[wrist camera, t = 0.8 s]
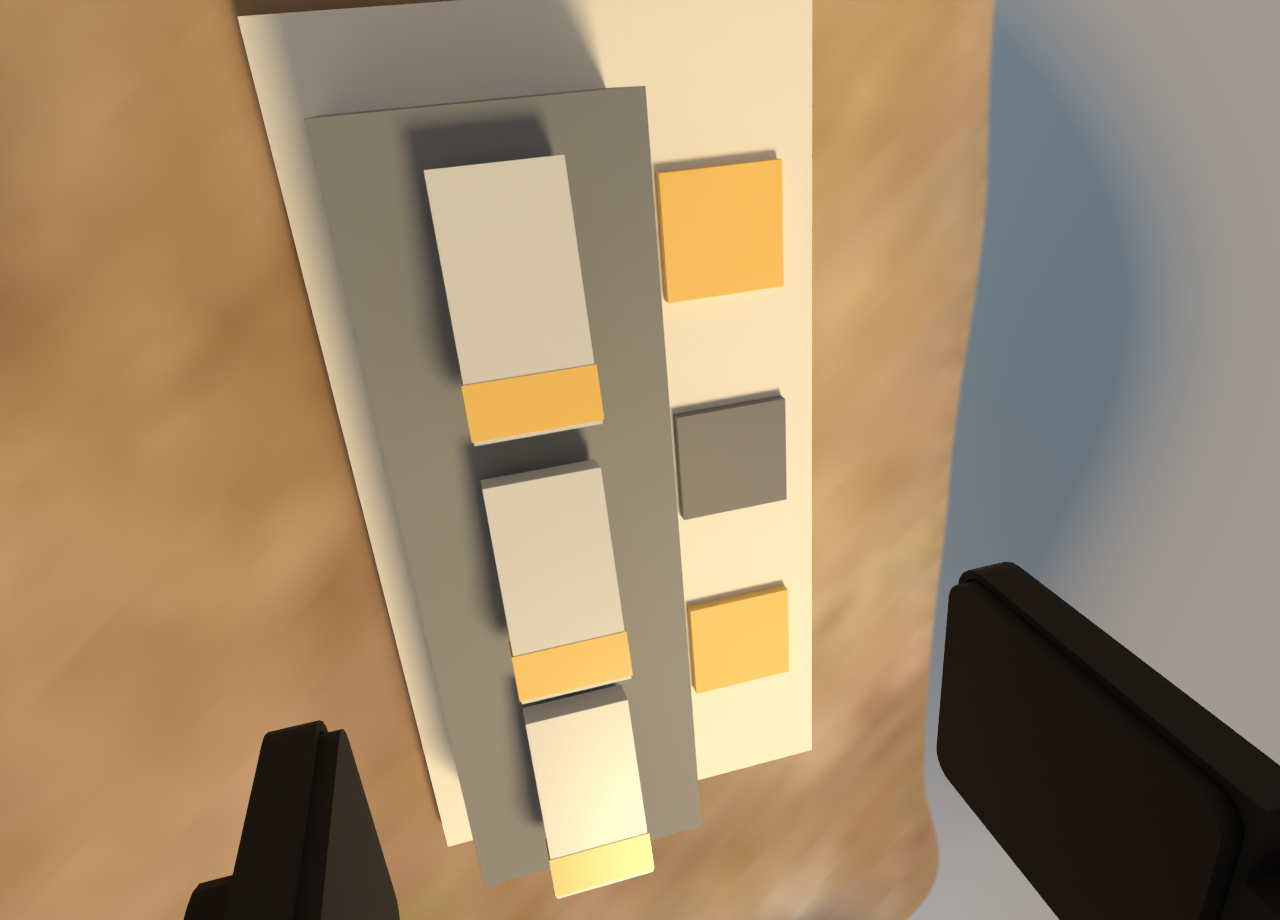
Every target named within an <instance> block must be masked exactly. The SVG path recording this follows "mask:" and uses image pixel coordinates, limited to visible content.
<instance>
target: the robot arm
mask: <svg viewBox="0 0 1280 920" xmlns="http://www.w3.org/2000/svg"><path fill="white" fill-rule="evenodd" d="M942 676H943V677H942V688H941V700H940V712H939V725H938V736H937V755H938V760H939V763H940V766H941V768H942V770H943V772H944V774H945V776H946V777H947V779H948V780H949V781H950V783H951V784H952V785H953V786H954V787H955V789H956V790H957V791H958V793H959V794H960V795H961V796H962V798H963V799H964V800H965V802H966V803H967V804H968V805H969V806H970V808H971V809H972V810H973V812H974V813H975V814H976V815H977V817H978V818H979V819H980V820H981V822H982V823H983V824H984V825H985V827H986V828H987V829H988V830H989V832H990V833H991V834H992V835H993V837H994V838H995V839H996V840H997V842H998V843H999V844H1000V845H1001V847H1002V848H1003V849H1004V851H1005V852H1006V853H1007V854H1008V856H1010V858H1011V859H1012V860H1013V862H1014V863H1015V864H1016V866H1017V867H1018V868H1019V869H1020V870H1021V872H1022V873H1023V874H1024V876H1025V877H1026V878H1027V879H1028V881H1029V882H1030V883H1031V884H1032V885H1033V887H1034V888H1035V889H1036V891H1037V892H1038V893H1039V894H1040V896H1041V897H1042V898H1043V899H1044V901H1045V902H1046V903H1047V905H1048V906H1049V907H1050V908H1051V910H1052V911H1053V912H1054V913H1055V915H1056V916H1057V917H1058V918H1059V920H1280V766H1279V765H1278V764H1277V763H1276V762H1274V761H1273V760H1272V759H1270V758H1269V757H1268V756H1267V755H1265V754H1264V753H1263V752H1261V751H1260V750H1259V749H1257V748H1256V747H1255V746H1253V745H1252V744H1251V743H1250V742H1248V741H1247V740H1245V739H1244V738H1243V737H1242V736H1240V735H1239V734H1238V733H1236V732H1235V731H1234V730H1233V729H1231V728H1230V727H1229V726H1227V725H1226V724H1225V723H1223V722H1222V721H1221V720H1219V719H1218V718H1217V717H1215V716H1214V715H1213V714H1212V713H1210V712H1209V711H1208V710H1206V709H1205V708H1204V707H1202V706H1201V705H1200V704H1198V703H1197V702H1196V701H1195V700H1193V699H1192V698H1191V697H1189V696H1188V695H1187V694H1185V693H1184V692H1183V691H1181V690H1180V689H1179V688H1178V687H1176V686H1175V685H1174V684H1172V683H1171V682H1170V681H1168V680H1167V679H1166V678H1164V677H1163V676H1162V675H1161V674H1159V673H1158V672H1156V671H1155V670H1154V669H1152V668H1151V667H1150V666H1149V665H1147V664H1146V663H1145V662H1143V661H1142V660H1141V659H1140V658H1138V657H1137V656H1136V655H1134V654H1133V653H1132V652H1130V651H1129V650H1128V649H1127V648H1125V647H1124V646H1123V645H1121V644H1120V643H1118V642H1117V641H1116V640H1115V639H1113V638H1112V637H1111V636H1109V635H1108V634H1107V633H1106V632H1104V631H1103V630H1102V629H1100V628H1099V627H1098V626H1096V625H1095V624H1094V623H1092V622H1091V621H1090V620H1089V619H1087V618H1086V617H1085V616H1083V615H1082V614H1081V613H1079V612H1078V611H1076V610H1075V609H1074V608H1073V607H1072V606H1070V605H1069V604H1068V603H1066V602H1065V601H1064V600H1062V599H1061V598H1060V597H1058V596H1057V595H1056V594H1055V593H1053V592H1052V591H1051V590H1049V589H1048V588H1046V587H1045V586H1044V585H1043V584H1041V583H1040V582H1039V581H1038V580H1036V579H1034V577H1032V576H1031V575H1030V574H1028V573H1027V572H1026V571H1024V570H1023V569H1022V568H1020V567H1019V566H1018V565H1015V564H1014V563H1012V562H1003V563H998V564H994V565H990V566H985V567H981V568H976V569H973V570H968V571H966V572H964V573H963V574H962V575H961V577H960V579H959V583H958V585H956V586H954V587H953V588H952V589H951V591H950V595H949V602H948V615H947V627H946V639H945V652H944V663H943V675H942ZM184 920H400V918H399V910H398V904H397V899H396V896H395V892H394V889H393V885H392V882H391V879H390V876H389V872H388V869H387V866H386V862H385V859H384V856H383V852H382V849H381V846H380V842H379V839H378V836H377V832H376V829H375V826H374V823H373V819H372V816H371V813H370V809H369V806H368V803H367V799H366V796H365V793H364V789H363V786H362V783H361V779H360V776H359V773H358V769H357V766H356V763H355V760H354V756H353V753H352V750H351V746H350V743H349V740H348V737H347V734H346V732H345V731H344V730H343V729H341V730H336V731H332V732H328V731H327V728H326V726H325V724H324V723H323V721H320V720H319V721H315V722H310V723H306V724H302V725H297V726H293V727H289V728H284V729H280V730H276V731H271V732H268V733H267V734H266V735H265V736H264V739H263V742H262V746H261V750H260V755H259V759H258V764H257V768H256V773H255V777H254V782H253V786H252V791H251V795H250V800H249V804H248V809H247V813H246V818H245V822H244V827H243V831H242V836H241V840H240V845H239V849H238V854H237V858H236V863H235V867H234V872H233V875H231V876H227V877H223V878H219V879H215V880H212V881H208V882H204V883H200V884H199V885H198V886H197V888H196V889H195V890H194V891H193V893H192V895H191V898H190V901H189V903H188V906H187V909H186V913H185V917H184Z"/></svg>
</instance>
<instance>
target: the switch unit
mask: <svg viewBox="0 0 1280 920" xmlns="http://www.w3.org/2000/svg"><path fill="white" fill-rule="evenodd" d="M237 17H238V21H239V25H240V29H241V33H242V37H243V41H244V45H245V49H246V53H247V57H248V61H249V65H250V69H251V73H252V76H253V80H254V84H255V88H256V92H257V96H258V100H259V104H260V108H261V112H262V116H263V120H264V124H265V128H266V132H267V136H268V139H269V143H270V147H271V151H272V155H273V159H274V163H275V167H276V171H277V175H278V179H279V183H280V187H281V191H282V195H283V199H284V203H285V206H286V210H287V214H288V218H289V222H290V226H291V230H292V234H293V238H294V242H295V246H296V250H297V254H298V258H299V262H300V266H301V269H302V273H303V277H304V281H305V285H306V289H307V293H308V297H309V301H310V305H311V309H312V313H313V317H314V321H315V325H316V329H317V333H318V336H319V340H320V344H321V348H322V352H323V356H324V360H325V364H326V368H327V372H328V376H329V380H330V384H331V388H332V392H333V396H334V399H335V403H336V407H337V411H338V415H339V419H340V423H341V427H342V431H343V435H344V439H345V443H346V447H347V451H348V455H349V459H350V463H351V466H352V470H353V474H354V478H355V482H356V486H357V490H358V494H359V498H360V502H361V506H362V510H363V514H364V518H365V522H366V526H367V529H368V533H369V537H370V541H371V545H372V549H373V553H374V557H375V561H376V565H377V569H378V573H379V577H380V581H381V585H382V589H383V593H384V596H385V600H386V604H387V608H388V612H389V616H390V620H391V624H392V628H393V632H394V636H395V640H396V644H397V648H398V652H399V656H400V659H401V663H402V667H403V671H404V675H405V679H406V683H407V687H408V691H409V695H410V699H411V703H412V707H413V711H414V715H415V719H416V723H417V726H418V730H419V734H420V738H421V742H422V746H423V750H424V754H425V758H426V762H427V766H428V770H429V774H430V778H431V782H432V786H433V789H434V793H435V797H436V801H437V805H438V809H439V813H440V817H441V821H442V825H443V829H444V833H445V837H446V841H447V845H448V847H449V846H453V845H456V844H460V843H464V842H468V841H471V840H473V841H474V845H475V850H476V854H477V858H478V862H479V867H480V871H481V875H482V880H483V884H484V887H485V886H489V885H492V884H496V883H499V882H503V881H507V880H510V879H514V878H517V877H521V876H525V875H528V874H532V873H535V872H539V871H543V870H546V869H550V863H549V858H548V852H547V847H546V842H545V839H546V833H545V828H544V822H543V817H542V812H541V806H540V801H539V795H538V790H537V785H536V779H535V774H534V768H533V763H532V757H531V752H530V747H529V741H528V736H527V730H526V725H525V720H524V714H523V709H522V708H525V707H529V706H533V705H538V704H542V703H546V702H550V701H554V700H558V699H563V698H567V697H571V696H575V695H579V694H584V693H588V692H592V691H596V690H600V689H604V688H609V687H613V686H617V685H621V686H622V688H623V690H624V692H625V695H626V697H627V699H628V705H629V711H630V718H631V725H632V732H633V738H634V745H635V752H636V759H637V765H638V772H639V779H640V786H641V792H642V799H643V806H644V813H645V819H646V826H647V829H648V831H649V835H650V840H654V839H658V838H661V837H665V836H668V835H672V834H676V833H679V832H683V831H686V830H690V829H694V828H697V827H701V815H700V801H699V788H698V780H700V779H704V778H708V777H712V776H715V775H719V774H723V773H727V772H730V771H734V770H738V769H742V768H745V767H749V766H753V765H757V764H760V763H764V762H768V761H772V760H775V759H779V758H783V757H787V756H790V755H794V754H798V753H802V752H805V751H809V750H812V0H456V1H442V2H429V3H415V4H401V5H387V6H374V7H360V8H346V9H332V10H319V11H305V12H291V13H278V14H264V15H250V16H237ZM556 155H565V162H566V169H567V176H568V183H569V190H570V197H571V204H572V211H573V218H574V225H575V232H576V239H577V246H578V253H579V260H580V267H581V274H582V281H583V288H584V295H585V302H586V309H587V316H588V323H589V330H590V337H591V344H592V351H593V358H594V363H595V364H597V371H598V378H599V385H600V392H601V399H602V406H603V413H604V420H602V421H603V424H599V425H593V426H587V427H582V428H576V429H570V430H565V431H559V432H553V433H547V434H542V435H536V436H530V437H525V438H519V439H513V440H508V441H502V442H496V443H491V444H485V445H479V446H474V443H472V441H471V436H470V431H469V425H468V420H467V415H466V409H465V404H464V398H463V393H462V388H461V382H460V380H462V376H461V371H460V366H459V360H458V355H457V349H456V344H455V339H454V333H453V328H452V322H451V317H450V312H449V306H448V301H447V295H446V290H445V284H444V279H443V274H442V268H441V263H440V257H439V252H438V247H437V241H436V236H435V230H434V225H433V220H432V214H431V209H430V203H429V198H428V192H427V187H426V182H425V176H424V170H430V169H439V168H448V167H457V166H466V165H475V164H484V163H493V162H502V161H511V160H520V159H529V158H538V157H547V156H556ZM593 459H594V460H595V461H596V462H597V463H598V465H599V466H600V467H601V472H602V479H603V486H604V493H605V500H606V507H607V513H608V520H609V527H610V534H611V541H612V548H613V555H614V561H615V568H616V575H617V582H618V589H619V596H620V603H621V610H622V616H623V623H624V628H625V629H626V631H627V638H628V645H629V652H630V659H631V666H632V672H633V675H632V676H631V679H627V680H623V681H619V682H615V683H610V684H606V685H602V686H598V687H594V688H589V689H585V690H581V691H577V692H573V693H568V694H564V695H560V696H556V697H552V698H547V699H543V700H539V701H535V702H531V703H526V704H522V702H520V701H519V695H518V690H517V685H516V679H515V674H514V669H513V663H512V658H511V652H510V647H509V641H510V637H509V632H508V627H507V621H506V616H505V610H504V605H503V600H502V594H501V589H500V583H499V578H498V573H497V567H496V562H495V556H494V551H493V545H492V540H491V535H490V529H489V524H488V518H487V513H486V508H485V502H484V497H483V491H482V486H481V481H480V480H484V479H490V478H495V477H501V476H506V475H511V474H517V473H522V472H528V471H533V470H539V469H544V468H549V467H555V466H560V465H566V464H571V463H577V462H582V461H587V460H593Z"/></svg>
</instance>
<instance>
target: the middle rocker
mask: <svg viewBox="0 0 1280 920" xmlns="http://www.w3.org/2000/svg"><path fill="white" fill-rule="evenodd" d="M480 481H481V486H482V491H483V497H484V502H485V508H486V513H487V518H488V524H489V529H490V535H491V540H492V545H493V551H494V556H495V562H496V567H497V573H498V578H499V583H500V589H501V594H502V600H503V605H504V610H505V616H506V621H507V627H508V632H509V637H510V641H509V647H510V652H511V658H512V663H513V669H514V674H515V679H516V685H517V690H518V695H519V701H520V702H522V704H526V703H531V702H535V701H539V700H543V699H547V698H552V697H556V696H560V695H564V694H568V693H573V692H577V691H581V690H585V689H589V688H594V687H598V686H602V685H606V684H610V683H615V682H619V681H623V680H627V679H631V676H632V675H633V672H632V666H631V659H630V652H629V645H628V638H627V631H626V629H625V628H624V623H623V616H622V610H621V603H620V596H619V589H618V582H617V575H616V568H615V561H614V555H613V548H612V541H611V534H610V527H609V520H608V513H607V507H606V500H605V493H604V486H603V479H602V472H601V467H600V466H599V465H598V463H597V462H596V461H595V460H594V459H593V460H587V461H582V462H577V463H571V464H566V465H560V466H555V467H549V468H544V469H539V470H533V471H528V472H522V473H517V474H511V475H506V476H501V477H495V478H490V479H484V480H480Z"/></svg>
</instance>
